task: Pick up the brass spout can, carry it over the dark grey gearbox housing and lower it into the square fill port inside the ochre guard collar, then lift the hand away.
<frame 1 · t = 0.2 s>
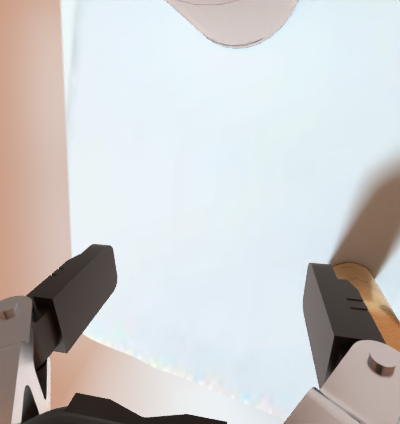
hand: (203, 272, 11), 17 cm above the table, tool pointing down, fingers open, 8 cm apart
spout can: (346, 282, 30), on the table
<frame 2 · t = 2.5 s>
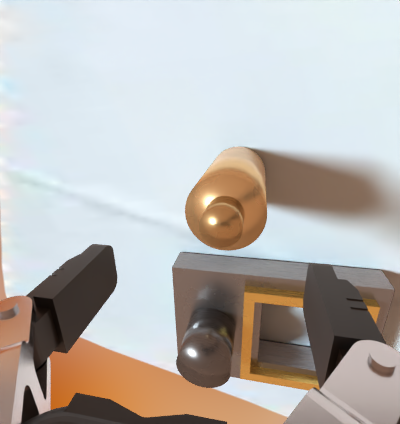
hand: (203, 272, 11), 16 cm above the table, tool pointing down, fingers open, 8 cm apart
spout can: (237, 173, 26), on the table
gearbox housing: (269, 314, 31), on the table
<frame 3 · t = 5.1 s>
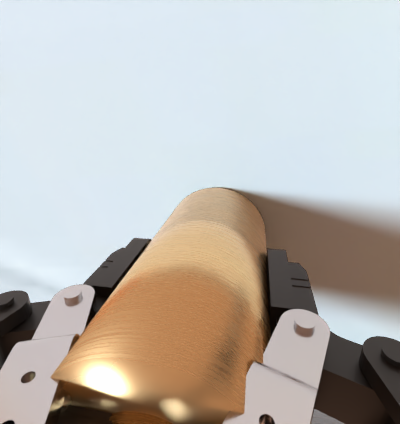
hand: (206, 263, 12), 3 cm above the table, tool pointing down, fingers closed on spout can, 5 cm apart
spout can: (216, 233, 15), on the table, touching gripper
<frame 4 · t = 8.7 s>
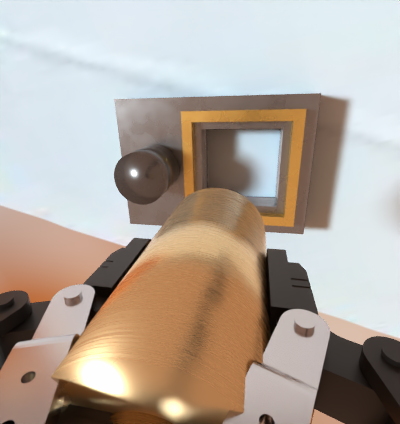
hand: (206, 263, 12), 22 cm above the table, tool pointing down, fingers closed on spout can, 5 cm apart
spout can: (216, 233, 15), point 19 cm above the table, touching gripper
gearbox housing: (215, 162, 32), on the table
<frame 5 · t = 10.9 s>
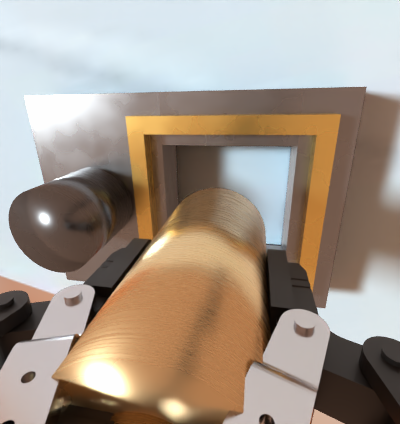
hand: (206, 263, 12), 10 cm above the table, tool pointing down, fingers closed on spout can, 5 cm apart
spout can: (216, 233, 15), point 7 cm above the table, touching gripper
gearbox housing: (190, 192, 21), on the table
when the fingers open (4 cm above the table, at t = 12.7 s): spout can drops 1 cm, resting in gearbox housing.
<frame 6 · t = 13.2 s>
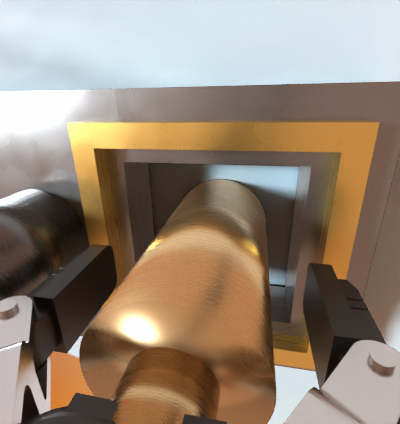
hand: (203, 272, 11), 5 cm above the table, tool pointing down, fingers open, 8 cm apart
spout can: (220, 221, 16), resting in gearbox housing
gearbox housing: (169, 218, 17), on the table
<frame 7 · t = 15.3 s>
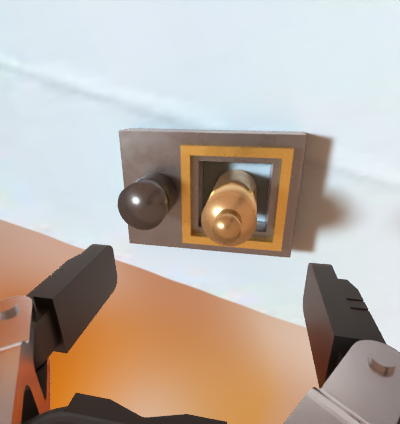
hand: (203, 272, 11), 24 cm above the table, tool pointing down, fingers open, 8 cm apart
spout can: (235, 189, 34), resting in gearbox housing
gearbox housing: (210, 188, 35), on the table
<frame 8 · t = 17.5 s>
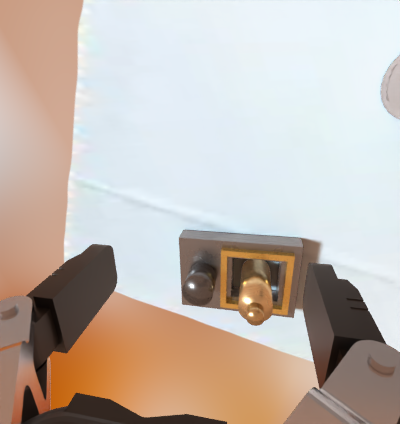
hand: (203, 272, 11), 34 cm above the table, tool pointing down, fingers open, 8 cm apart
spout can: (255, 270, 50), resting in gearbox housing
gearbox housing: (238, 268, 51), on the table
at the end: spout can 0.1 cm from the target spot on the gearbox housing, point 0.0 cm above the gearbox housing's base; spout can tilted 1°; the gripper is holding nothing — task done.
